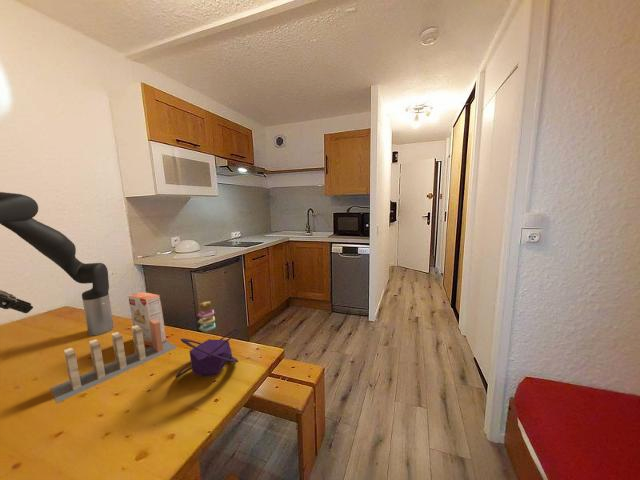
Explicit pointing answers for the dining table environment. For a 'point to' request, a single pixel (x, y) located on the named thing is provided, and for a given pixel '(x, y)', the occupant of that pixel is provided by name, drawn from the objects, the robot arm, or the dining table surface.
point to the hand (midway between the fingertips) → (29, 308)
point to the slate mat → (106, 373)
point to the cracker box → (146, 314)
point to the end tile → (156, 335)
